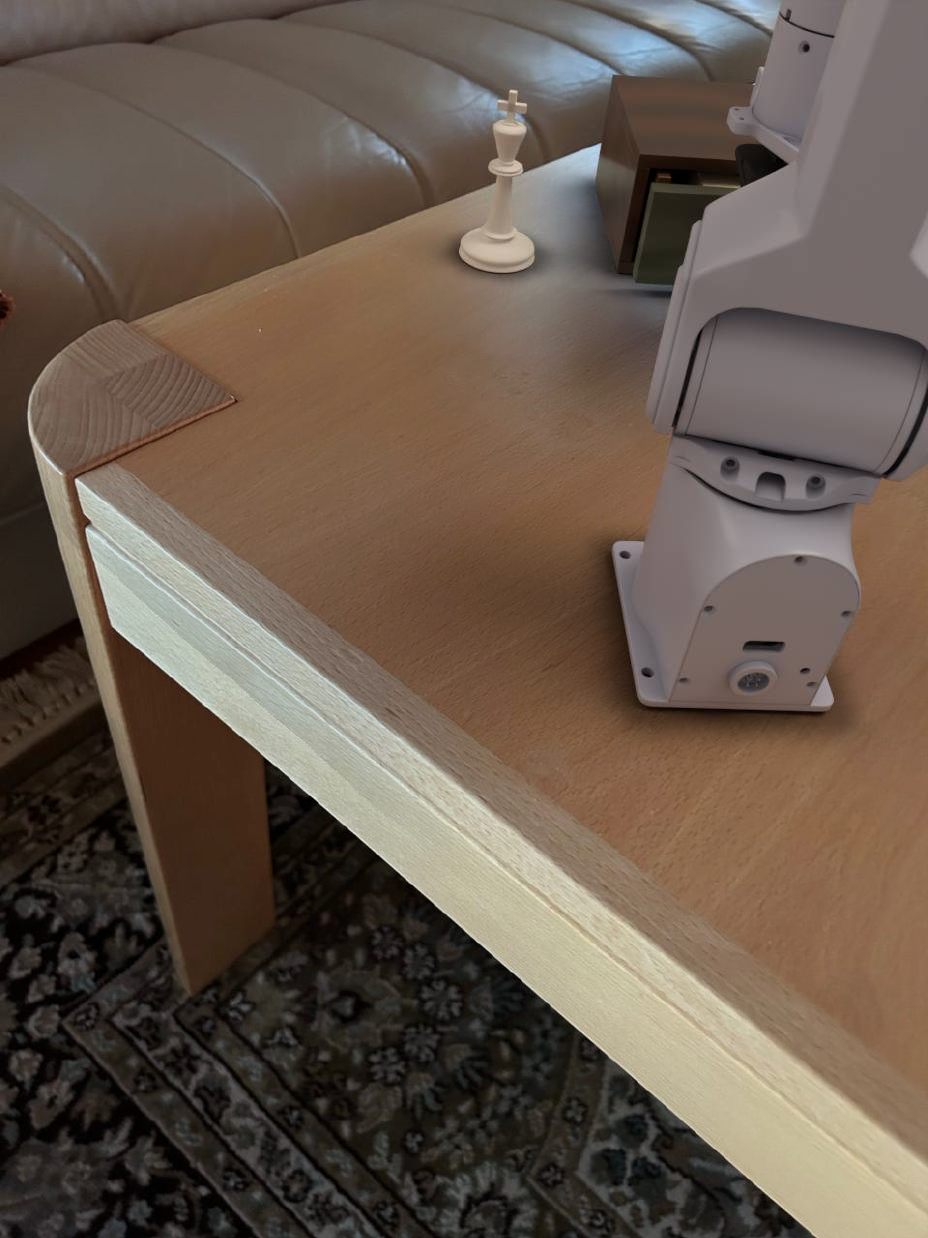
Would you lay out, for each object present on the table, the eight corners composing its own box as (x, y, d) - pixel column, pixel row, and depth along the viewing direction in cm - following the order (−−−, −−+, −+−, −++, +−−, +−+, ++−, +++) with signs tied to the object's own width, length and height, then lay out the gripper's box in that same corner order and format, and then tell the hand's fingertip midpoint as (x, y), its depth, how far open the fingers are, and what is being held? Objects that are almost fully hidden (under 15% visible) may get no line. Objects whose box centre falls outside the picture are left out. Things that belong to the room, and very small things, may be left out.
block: (749, 252, 65) (767, 189, 62) (687, 248, 65) (703, 185, 62) (736, 223, 68) (753, 162, 65) (677, 219, 67) (691, 158, 64)
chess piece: (528, 278, 64) (549, 112, 57) (451, 265, 65) (463, 99, 58) (539, 243, 68) (560, 83, 61) (467, 231, 68) (479, 70, 61)
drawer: (834, 333, 61) (869, 240, 57) (645, 323, 60) (667, 228, 56) (770, 207, 72) (795, 122, 68) (611, 197, 71) (626, 111, 67)
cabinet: (806, 284, 67) (846, 166, 61) (616, 273, 66) (639, 153, 60) (762, 195, 76) (793, 86, 70) (594, 185, 75) (612, 73, 69)
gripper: (725, -31, 52) (668, 224, 62) (794, 69, 42) (713, 355, 52) (858, -21, 53) (781, 231, 63) (958, 81, 43) (847, 362, 53)
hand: (758, 288), depth 58 cm, fingers closed
